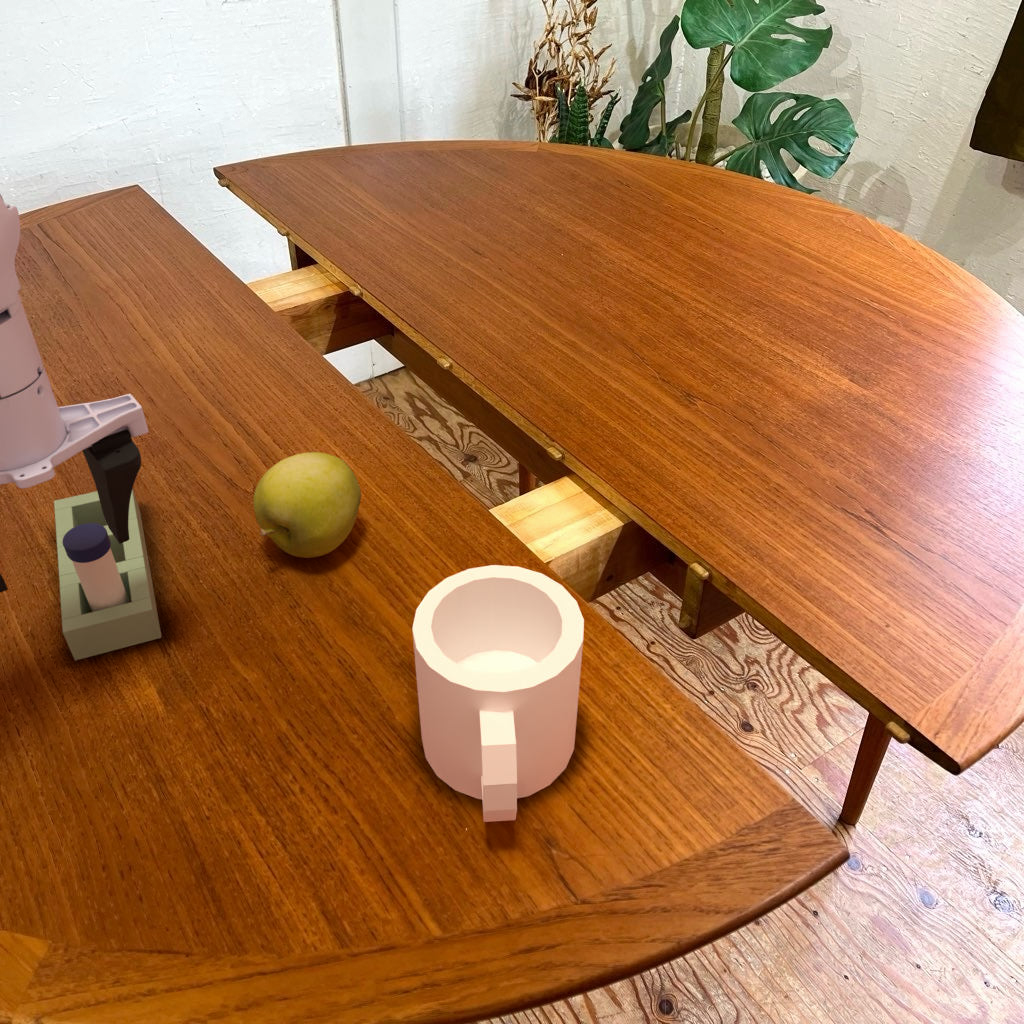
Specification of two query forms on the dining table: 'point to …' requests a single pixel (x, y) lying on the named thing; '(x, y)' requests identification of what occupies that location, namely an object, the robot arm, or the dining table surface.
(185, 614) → the dining table surface
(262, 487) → the apple
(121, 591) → the test tube
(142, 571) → the tube rack
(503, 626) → the mug
